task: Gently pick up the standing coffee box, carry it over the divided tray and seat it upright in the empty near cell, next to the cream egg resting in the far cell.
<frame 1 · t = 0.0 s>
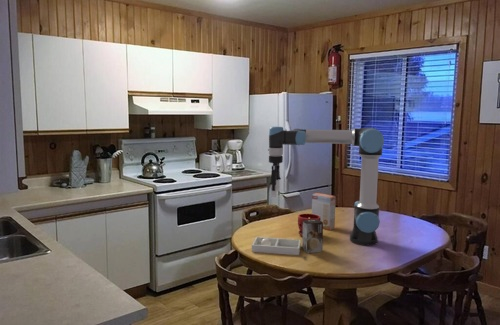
hand: (275, 193, 229), 28 cm above the table, fingers open, 13 cm apart
divided tray: (276, 250, 221), on the table
coffee box: (312, 250, 222), on the table
cracker box: (322, 227, 263), on the table
plant pot: (308, 235, 247), on the table
egg: (265, 247, 222), point 1 cm above the table, touching divided tray
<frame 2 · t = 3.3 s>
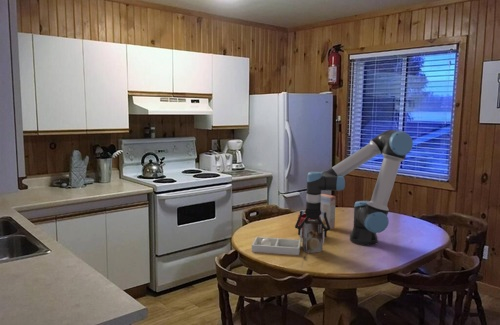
hand: (312, 241, 221), 5 cm above the table, fingers open, 11 cm apart
coffee box: (312, 250, 222), on the table, touching gripper
everything else where it was.
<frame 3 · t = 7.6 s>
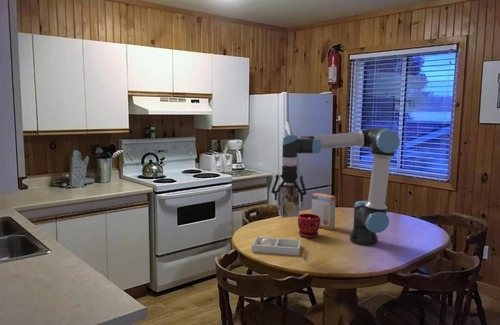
hand: (288, 207, 217), 24 cm above the table, fingers closed on coffee box, 11 cm apart
coffee box: (288, 216, 217), point 19 cm above the table, touching gripper
everything else where it was.
when the fingers open (7 cm above the table, at t = 11.4 s): coffee box drops 2 cm, resting on divided tray.
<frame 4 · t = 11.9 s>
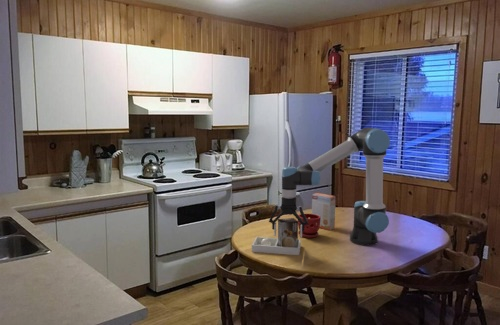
hand: (288, 236, 219), 8 cm above the table, fingers open, 13 cm apart
coffee box: (287, 249, 220), point 1 cm above the table, touching divided tray
everything else where it was.
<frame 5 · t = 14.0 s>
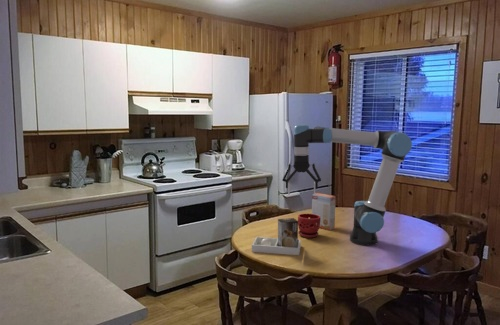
hand: (301, 194, 222), 29 cm above the table, fingers open, 13 cm apart
nothing on the table moved.
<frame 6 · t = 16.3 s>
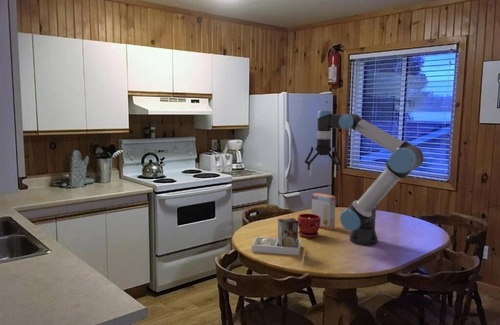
hand: (322, 176, 234), 37 cm above the table, fingers open, 13 cm apart
nothing on the table moved.
at the end: coffee box inside the target area on the divided tray (0.3 cm from its centre), point 0.8 cm above the divided tray's base; coffee box tilted 0°; the gripper is holding nothing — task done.
